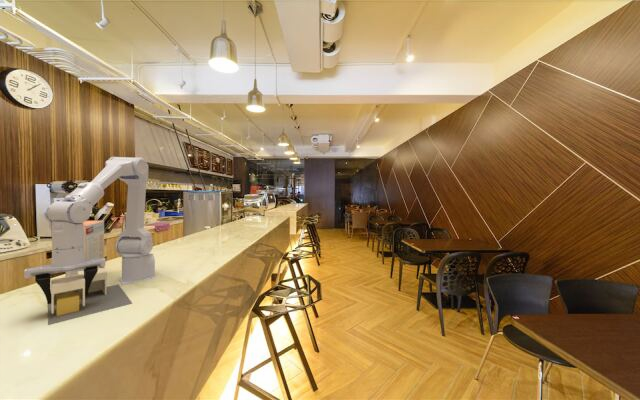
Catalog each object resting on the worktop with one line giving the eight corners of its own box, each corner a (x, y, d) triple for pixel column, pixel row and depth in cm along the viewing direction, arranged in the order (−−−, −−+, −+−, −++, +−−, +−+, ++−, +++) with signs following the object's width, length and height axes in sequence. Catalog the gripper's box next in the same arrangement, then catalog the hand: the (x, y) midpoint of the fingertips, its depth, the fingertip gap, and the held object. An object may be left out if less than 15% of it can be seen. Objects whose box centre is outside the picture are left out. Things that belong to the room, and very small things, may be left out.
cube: (77, 305, 67) (77, 291, 66) (79, 310, 64) (79, 295, 64) (56, 310, 64) (56, 295, 63) (56, 315, 61) (56, 300, 61)
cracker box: (84, 276, 90) (85, 220, 90) (105, 274, 93) (105, 220, 92) (63, 290, 77) (63, 225, 77) (87, 288, 80) (87, 224, 79)
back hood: (103, 289, 78) (103, 267, 78) (106, 294, 74) (106, 271, 74) (77, 294, 74) (77, 271, 73) (79, 300, 70) (79, 276, 69)
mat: (118, 285, 82) (118, 284, 82) (132, 305, 69) (132, 303, 69) (47, 300, 70) (47, 298, 70) (47, 327, 57) (47, 325, 57)
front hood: (82, 298, 68) (82, 274, 68) (84, 305, 64) (84, 279, 64) (51, 305, 64) (51, 279, 63) (51, 313, 60) (51, 285, 59)
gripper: (23, 254, 55) (23, 313, 56) (107, 245, 66) (107, 295, 66) (25, 249, 60) (25, 303, 60) (103, 241, 71) (103, 287, 71)
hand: (68, 298), depth 64 cm, fingers closed on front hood, 6 cm apart
